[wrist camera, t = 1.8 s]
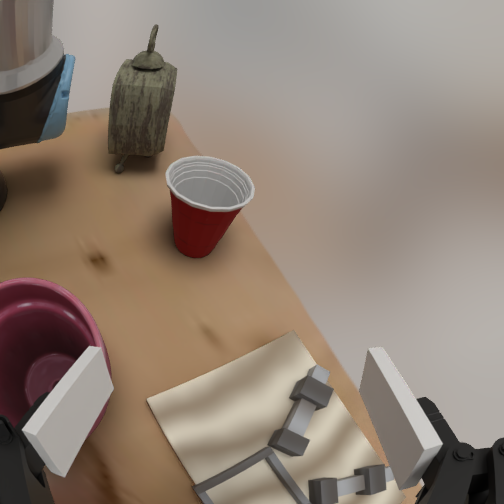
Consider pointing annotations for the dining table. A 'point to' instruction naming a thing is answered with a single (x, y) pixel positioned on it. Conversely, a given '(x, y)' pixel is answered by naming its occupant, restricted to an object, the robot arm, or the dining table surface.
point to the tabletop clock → (141, 104)
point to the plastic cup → (205, 201)
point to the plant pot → (40, 342)
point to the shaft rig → (272, 434)
